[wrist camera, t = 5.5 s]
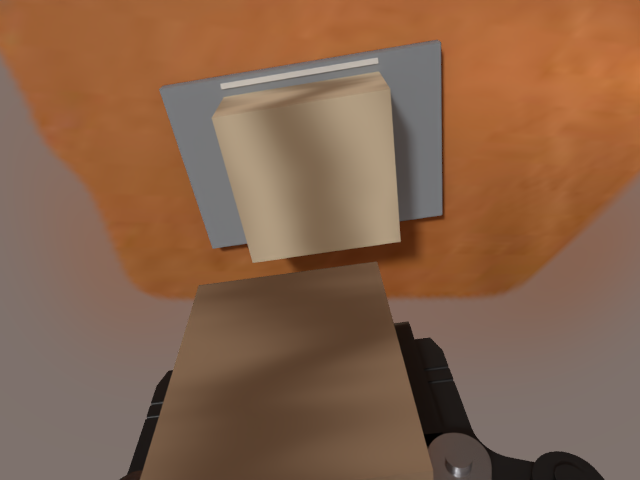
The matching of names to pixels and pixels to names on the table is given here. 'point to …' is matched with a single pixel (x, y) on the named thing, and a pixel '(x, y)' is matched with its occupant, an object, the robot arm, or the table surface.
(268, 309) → the block
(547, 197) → the table surface
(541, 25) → the table surface
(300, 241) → the pedestal
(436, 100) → the plate
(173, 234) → the table surface
